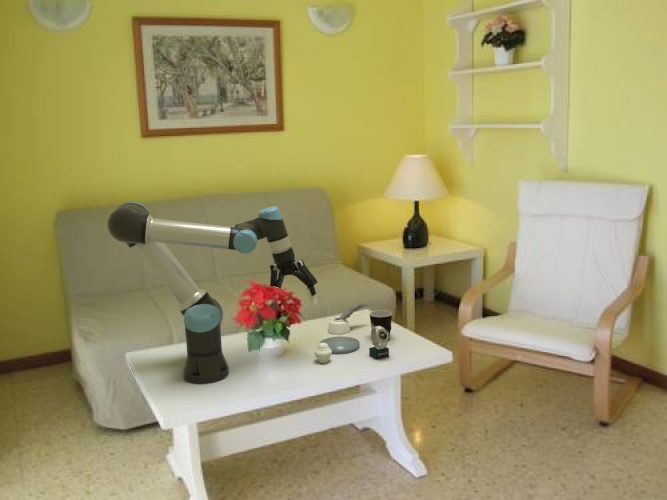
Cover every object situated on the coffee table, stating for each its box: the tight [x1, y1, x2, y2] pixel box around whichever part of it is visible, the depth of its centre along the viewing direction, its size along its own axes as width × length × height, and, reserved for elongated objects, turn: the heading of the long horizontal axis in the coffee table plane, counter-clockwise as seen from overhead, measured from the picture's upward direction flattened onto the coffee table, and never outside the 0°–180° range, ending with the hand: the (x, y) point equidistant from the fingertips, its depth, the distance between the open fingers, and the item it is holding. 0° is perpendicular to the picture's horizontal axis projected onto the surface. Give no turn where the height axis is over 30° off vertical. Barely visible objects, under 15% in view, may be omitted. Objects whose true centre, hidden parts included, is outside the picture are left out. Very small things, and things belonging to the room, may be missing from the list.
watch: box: [368, 326, 391, 361], centre depth 247 cm, size 6×8×11 cm
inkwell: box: [327, 303, 369, 335], centre depth 279 cm, size 9×18×10 cm, turn 116°
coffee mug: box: [369, 309, 393, 341], centre depth 264 cm, size 12×9×10 cm
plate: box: [318, 336, 361, 355], centre depth 259 cm, size 15×15×2 cm
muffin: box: [314, 342, 333, 364], centre depth 245 cm, size 6×6×7 cm
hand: (299, 304), depth 250 cm, fingers open, 13 cm apart
